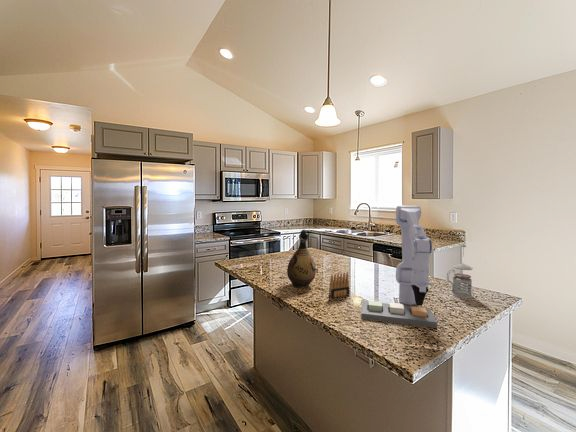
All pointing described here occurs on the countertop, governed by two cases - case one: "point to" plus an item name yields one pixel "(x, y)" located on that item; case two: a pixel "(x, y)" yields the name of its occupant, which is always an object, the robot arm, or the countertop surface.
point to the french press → (461, 281)
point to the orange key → (418, 311)
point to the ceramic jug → (301, 265)
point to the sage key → (375, 306)
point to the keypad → (398, 316)
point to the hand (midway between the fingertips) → (419, 304)
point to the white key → (396, 308)
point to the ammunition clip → (339, 286)
